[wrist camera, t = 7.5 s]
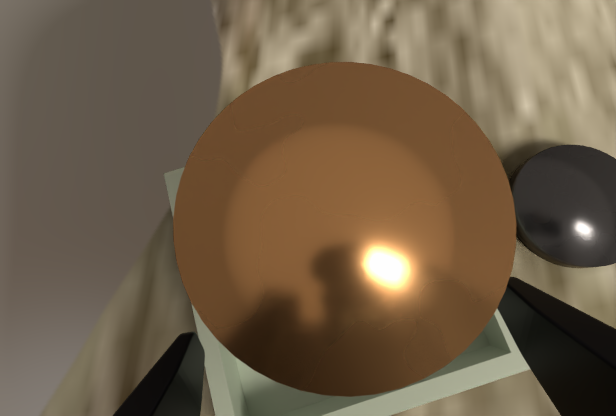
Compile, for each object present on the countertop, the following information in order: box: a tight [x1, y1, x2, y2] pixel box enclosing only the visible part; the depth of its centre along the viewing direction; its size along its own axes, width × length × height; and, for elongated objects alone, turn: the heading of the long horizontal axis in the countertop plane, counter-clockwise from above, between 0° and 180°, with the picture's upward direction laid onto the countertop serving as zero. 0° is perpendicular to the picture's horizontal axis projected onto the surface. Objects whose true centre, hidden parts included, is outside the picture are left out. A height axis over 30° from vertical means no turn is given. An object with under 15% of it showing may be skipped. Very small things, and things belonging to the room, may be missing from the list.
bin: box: [164, 167, 530, 416], centre depth 17 cm, size 14×14×2 cm
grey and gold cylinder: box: [173, 62, 516, 397], centre depth 11 cm, size 6×6×12 cm
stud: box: [509, 145, 616, 268], centre depth 17 cm, size 6×6×1 cm
